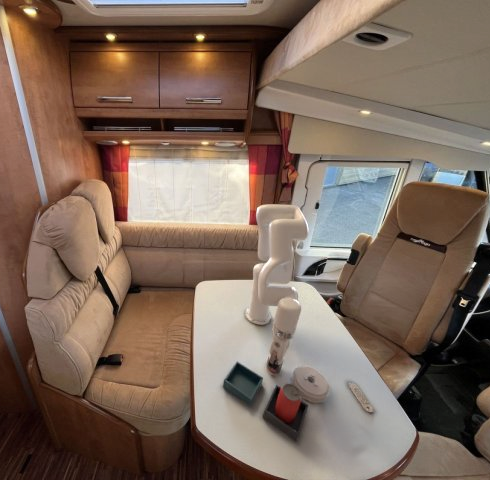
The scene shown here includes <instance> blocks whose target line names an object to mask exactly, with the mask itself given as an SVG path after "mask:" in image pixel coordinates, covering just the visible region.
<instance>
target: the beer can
mask: <svg viewBox="0 0 490 480" xmlns="http://www.w3.org/2000/svg"><path fill="white" fill-rule="evenodd" d="M301 401H302V397H301V393H300V391H299V389H298V388H297V387H296V386H294V385H292V383H285V384H284V385H283V386H282V387H281V389H280V392H279V396H278V399H277V403H276V406H275V412H276V415H277V417H278V418H279V419H280V420H281V421H283V422H285V423H292V422H293V421H294V420H295V417H296V414H297V411H298V409H299V406H300V403H301Z"/></svg>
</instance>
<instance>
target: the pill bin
mask: <svg viewBox="0 0 490 480" xmlns="http://www.w3.org/2000/svg"><path fill="white" fill-rule="evenodd" d="M263 381H264V377H263V376H262V375H259V374H258V373H256V372H255V371H254V370H251V369H250V368H249V367H247V366H246V365H244V364H242V363H241V362H239V361H236V362H235V363H234V365H233V366H232V368H231V369H230V370H229V372H228V373H227V375H226V377H225V378H224V379H223V385H222V387H223V388H224V389H225V390H226V391H228V392H230V394H232V395H233V396H235V397H236V398H237V399H239V400H240V401H242V402H243V403H245V404H246V405H247V406H248V407H251V406H252V404H253V403H254V401H255V399H256V396H257V395H258V393H259V391H260V389H261V387H262V385H263Z"/></svg>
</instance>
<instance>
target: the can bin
mask: <svg viewBox="0 0 490 480" xmlns="http://www.w3.org/2000/svg"><path fill="white" fill-rule="evenodd" d="M281 388H282V387H281V386H280V385H278V384H276V385H275V387H274V389H273V390H272V392H271V395H270V397H269V400H268V402H267V404H266V406H265V408H264V410H263V414H262V418H263V419H264V420H265V421H266V422H269V423H270V424H271V425H272V426H274V427H275V428H276V429H278V430H279V431H280V432H282V433H283V434H284V435H286V437H289V438H290V439H291V440H293V441H294V442H295V443H297V441H298V439H299V437H300V433H301V430H302V427H303V424H304V421H305V417H306V414H307V412H308V408H309V404H308V403H306V402H305V401H303V400H301V403H300V406H299V409H298V411H297V414H296V417H295V420H294V421H293V422H292V423H285V422H283V421H281V420H280V419H279V418H278V417H277V415H276V412H275V406H276V403H277V399H278V396H279V392H280V389H281Z"/></svg>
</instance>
